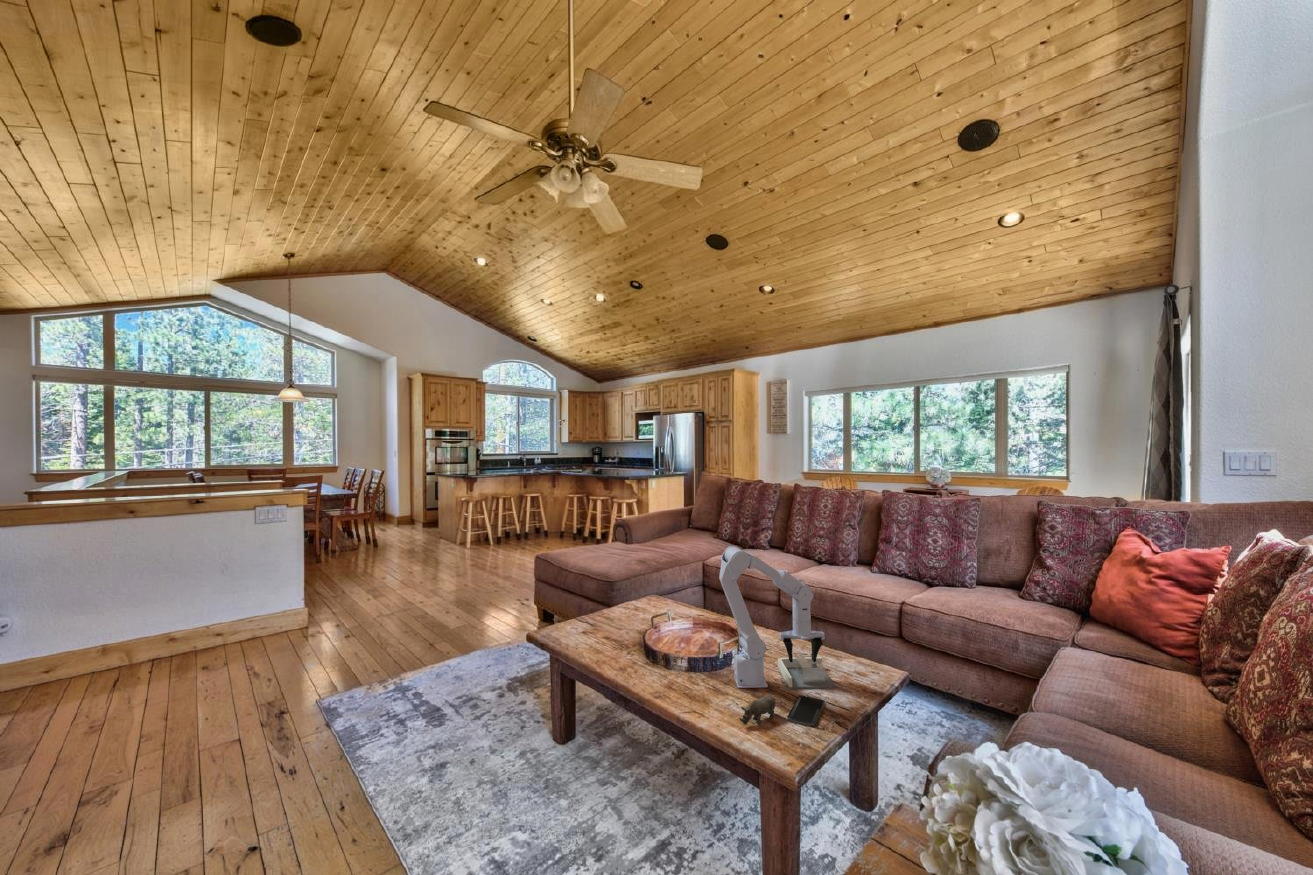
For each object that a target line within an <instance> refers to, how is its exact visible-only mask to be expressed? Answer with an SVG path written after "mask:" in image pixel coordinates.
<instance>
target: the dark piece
mask: <svg viewBox="0 0 1313 875" xmlns="http://www.w3.org/2000/svg"><path fill="white" fill-rule="evenodd" d="M825 702H826V701H825V700H824V699H821V698H816V697H812V696H807V695H798V696H797V698H796V699H795V701H794V703H793V705H792V708H790V711H789V713H788V715H787V721H788V722H790V723H793V724H796V725H797V724H798V725H801V726H805V727H809V728H815V727H816V726H817V725H818V722H819V720H820V717H821V715H822V712H823V710H824V707H825V705H826V703H825Z"/></svg>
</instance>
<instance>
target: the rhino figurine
mask: <svg viewBox="0 0 1313 875" xmlns="http://www.w3.org/2000/svg"><path fill="white" fill-rule="evenodd" d="M740 708H741V710H743V711H744V713H743V715H742V718H741V717H739V722H742V724H743V725H744V726H746V725H747V724H749V722H750V721H751V720H754V721H756V722H755V724H756V725H758V726H759V725H761V724H762V722H761V717H762V715H765V714H768V715H769V716H768V717H769V719H770V720H774V719H775V708H776V700H775V699H774V697H773V696H772V695H770V694H768V695H763V696H762V697H761V698H758V699H754V700H752V701H751V702H749V703H748V705H747V706H745V707H744V706H740Z"/></svg>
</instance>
